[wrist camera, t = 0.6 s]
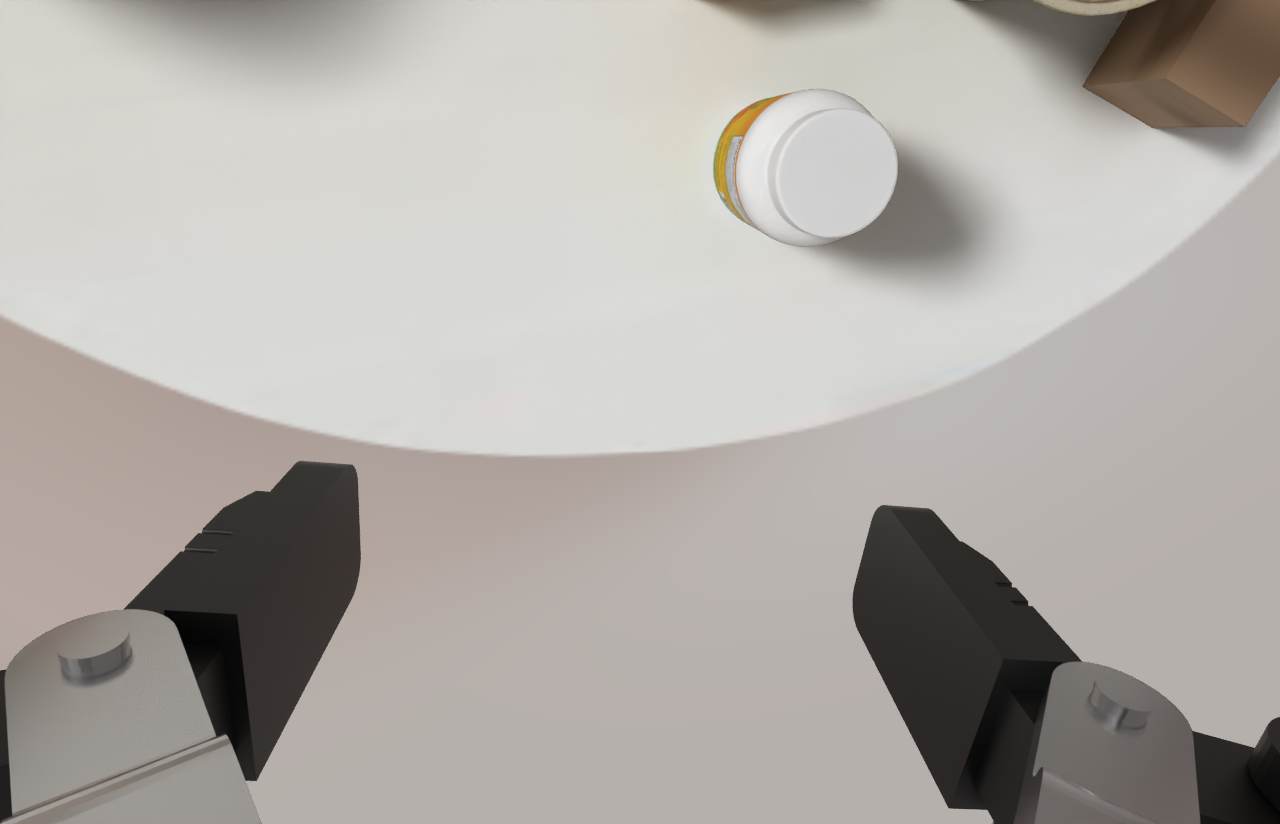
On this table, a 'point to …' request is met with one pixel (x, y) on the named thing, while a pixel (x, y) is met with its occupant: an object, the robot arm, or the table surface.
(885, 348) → the table surface
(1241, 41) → the walnut block
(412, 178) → the table surface
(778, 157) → the supplement bottle
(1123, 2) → the flower pot
